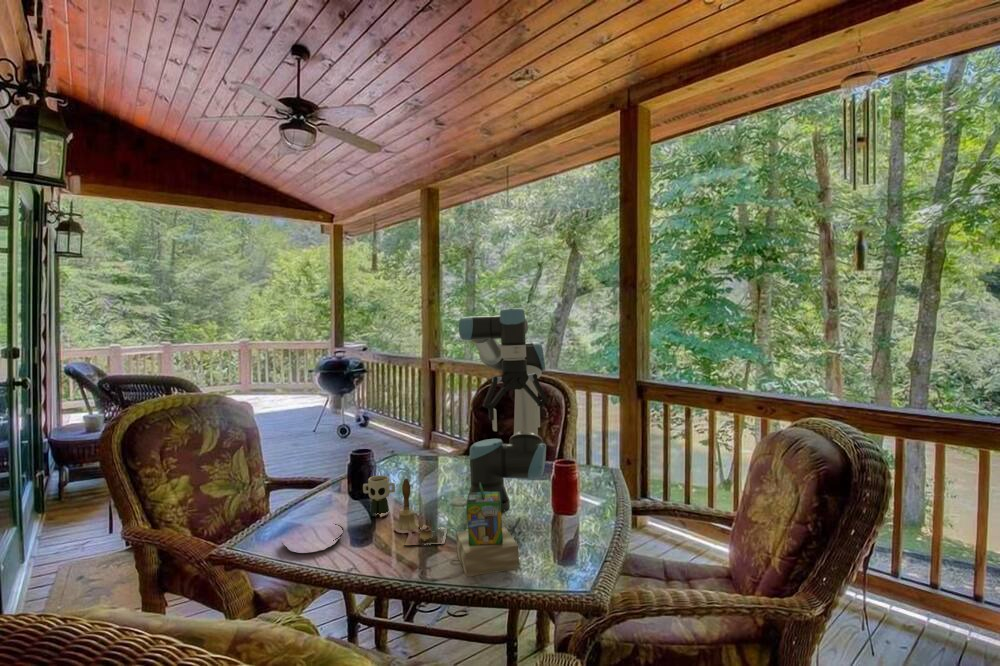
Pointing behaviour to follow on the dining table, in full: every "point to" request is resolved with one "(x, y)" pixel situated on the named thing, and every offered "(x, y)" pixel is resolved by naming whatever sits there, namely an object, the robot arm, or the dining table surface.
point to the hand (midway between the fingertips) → (516, 428)
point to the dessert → (430, 534)
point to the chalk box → (484, 518)
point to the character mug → (379, 493)
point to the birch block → (487, 554)
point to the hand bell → (406, 511)
